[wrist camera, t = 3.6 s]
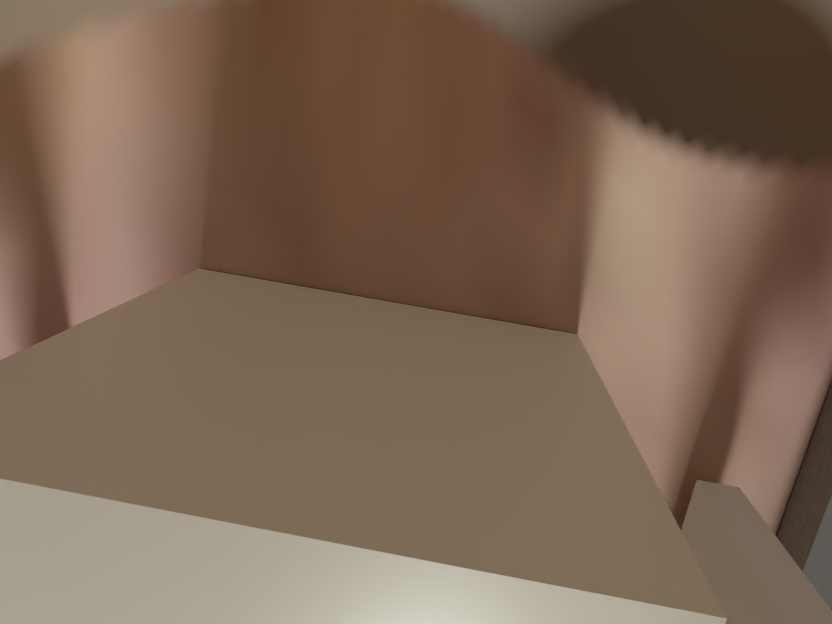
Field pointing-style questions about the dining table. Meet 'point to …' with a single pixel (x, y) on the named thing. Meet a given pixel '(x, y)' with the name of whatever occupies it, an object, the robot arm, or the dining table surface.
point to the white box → (325, 470)
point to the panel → (813, 510)
